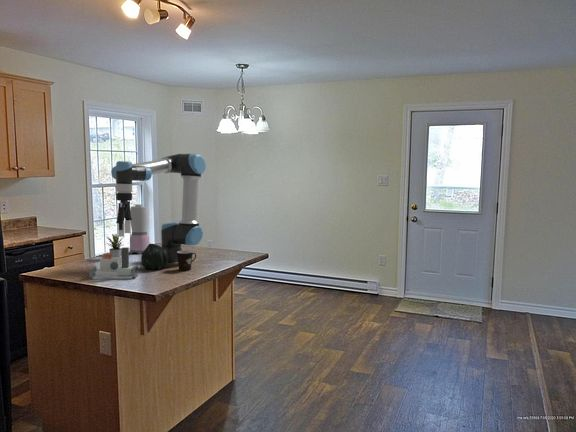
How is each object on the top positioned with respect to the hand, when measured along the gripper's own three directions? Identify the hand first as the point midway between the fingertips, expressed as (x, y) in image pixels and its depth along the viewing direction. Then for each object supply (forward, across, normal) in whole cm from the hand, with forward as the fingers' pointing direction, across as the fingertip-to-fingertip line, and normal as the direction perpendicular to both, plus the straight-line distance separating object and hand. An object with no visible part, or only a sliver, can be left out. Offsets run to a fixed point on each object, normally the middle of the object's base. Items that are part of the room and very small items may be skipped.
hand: (124, 234), depth 222 cm
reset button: (+15, -10, -11) cm, 21 cm away
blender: (+22, -72, -5) cm, 76 cm away
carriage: (+20, 0, 0) cm, 20 cm away
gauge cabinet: (+22, -10, -9) cm, 26 cm away
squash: (+22, -21, +12) cm, 33 cm away
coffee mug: (+22, -17, +30) cm, 41 cm away
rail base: (+22, 0, -5) cm, 22 cm away
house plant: (+22, -50, -17) cm, 57 cm away
